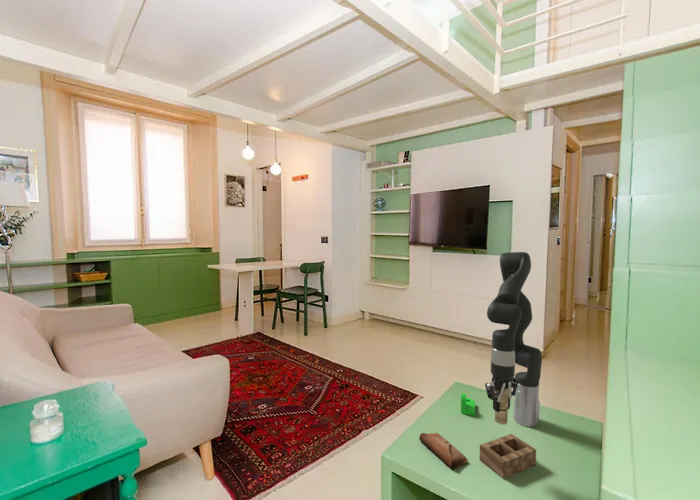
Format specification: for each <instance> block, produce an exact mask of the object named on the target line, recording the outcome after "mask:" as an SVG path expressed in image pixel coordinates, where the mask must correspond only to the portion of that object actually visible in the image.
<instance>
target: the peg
mask: <svg viewBox="0 0 700 500" xmlns="http://www.w3.org/2000/svg"><path fill="white" fill-rule="evenodd" d="M496 391H498V390H496ZM498 392H499V391H498ZM496 397H497V394H496ZM508 414H509V409H508V388H507V389H504V391H503V395H502V396H501V398H500V412H496V411H495V410H494V422H496V424H499V425H507V424H508V419H509V418H508Z"/></svg>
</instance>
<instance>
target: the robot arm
mask: <svg viewBox="0 0 700 500" xmlns="http://www.w3.org/2000/svg"><path fill="white" fill-rule="evenodd" d="M499 267H500V273H501V277H502V283H501V285H500V286H499V288H498V289H499V290H498V293H497V296H496V297H494V299H493V300H492V301H491V302H490V304H489V305H488V307H487V311H486V316H487V319H488V320H489V321H490V322H491V323H493V324H499V325H506V326H508V328H506V329H505V328H503V329H496V330H494V331H493V332H492V338H491V353H490V373H491V375H492V378H491V381H490V382H485V384H484V386H485V390H486V391H485V392H486V394H487V399H489V400H491V401H492V409H493V411H494V412H495V411H496V412H500V398H501V396H502V395H503V391H504V389H507V388H508V410H510V409H511V408H510V407H511V399H513V397H514V401H513V402H514V403H513V420H514V421H515V422H516V423H517V424H519V425H521V426H523V427H528V428H533V427H536V426H538V424H539V422H540V404H541V403H540V400H539V395H540V394H539V392H540V380H541V375H542V374H541V371H542V362H543V354H542V351H541V350H540V349H539V348H537V347H535V346H531V345H527V344H525V343H524V334H525V332H526V330H527V329H528V327H530V324H531V323H532V321H533V311H532V304H531V301H530V300H529V298H528V297H527V296H526V295H525V293H523V291H522V289H523V286H524V284H525V282H526V280H527V279H528V277H529V275H530V273H531V269H532V260H531V256H530V254H529V253H528V252H525V251H514V252H503V253H501V254H500V257H499ZM516 365H518V366H521V367H523V368H526V369H527V371H519V372H516V371H515V370H516ZM496 390H498V391H499V392H498V391H496ZM496 394H497V397H496Z"/></svg>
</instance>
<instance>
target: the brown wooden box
mask: <svg viewBox="0 0 700 500" xmlns="http://www.w3.org/2000/svg"><path fill="white" fill-rule="evenodd" d="M479 461H480V462H481V463H482V464H484V465H485V466H486V467H487V468H489V469H490V470H491V471H492V472H494V473H495V474H496V475H497V476H499V477H500V478H501V479H502V480H503V479H506V478H508V477H510V476H513V475H516V474H518V473H520V472H523V471H526V470H527V469H530V468H532V467H535V466H536V463H537V449H536V448H535V447H533V446H531V445H530V444H528V443H527V442H525V441H523V440H522V439H520V438H519V437H518V436H516V435H514V434H513V433H510V434H507V435H504V436H501V437H498V438H496V439H492V440H490V441H487V442H485V443H481V444H479Z"/></svg>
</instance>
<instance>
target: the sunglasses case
mask: <svg viewBox="0 0 700 500" xmlns="http://www.w3.org/2000/svg"><path fill="white" fill-rule="evenodd" d="M418 438H419V441H420V442H421V443H422V444H424V445H425V446H426V447H427V449H428V448H429V450H430V451H432V452H433V453H434V455H435V456H437V457H438V458H439V459H440V460H441V461H442V462H443V463H444V464H445V465H446V466H447V467H448V468H450V469H451V470H455V469H457V468H461V467H462V466H464V465H465V464H466V463H467V462H468V461H469V459H468V458H467V457H466V456H465V455H464V454H463V453H462V452H461V451H460V450H458V449H457V448H456V447H455V446H454V445H453V444H452V443H450V441H448V440H447V439H446V438H444V437H443V436H442V435H441V434H439V432H435V433H434V432H433V433H432V432H431V433H426V432H421V433H420V434H419V437H418Z"/></svg>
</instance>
